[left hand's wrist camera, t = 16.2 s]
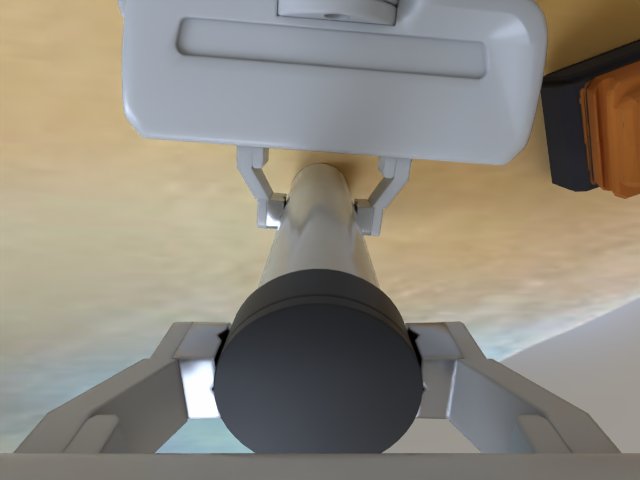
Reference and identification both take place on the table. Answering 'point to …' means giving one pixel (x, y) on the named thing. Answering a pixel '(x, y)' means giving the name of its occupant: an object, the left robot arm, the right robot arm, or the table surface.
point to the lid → (318, 367)
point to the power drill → (595, 122)
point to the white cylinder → (319, 228)
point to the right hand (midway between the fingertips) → (319, 229)
